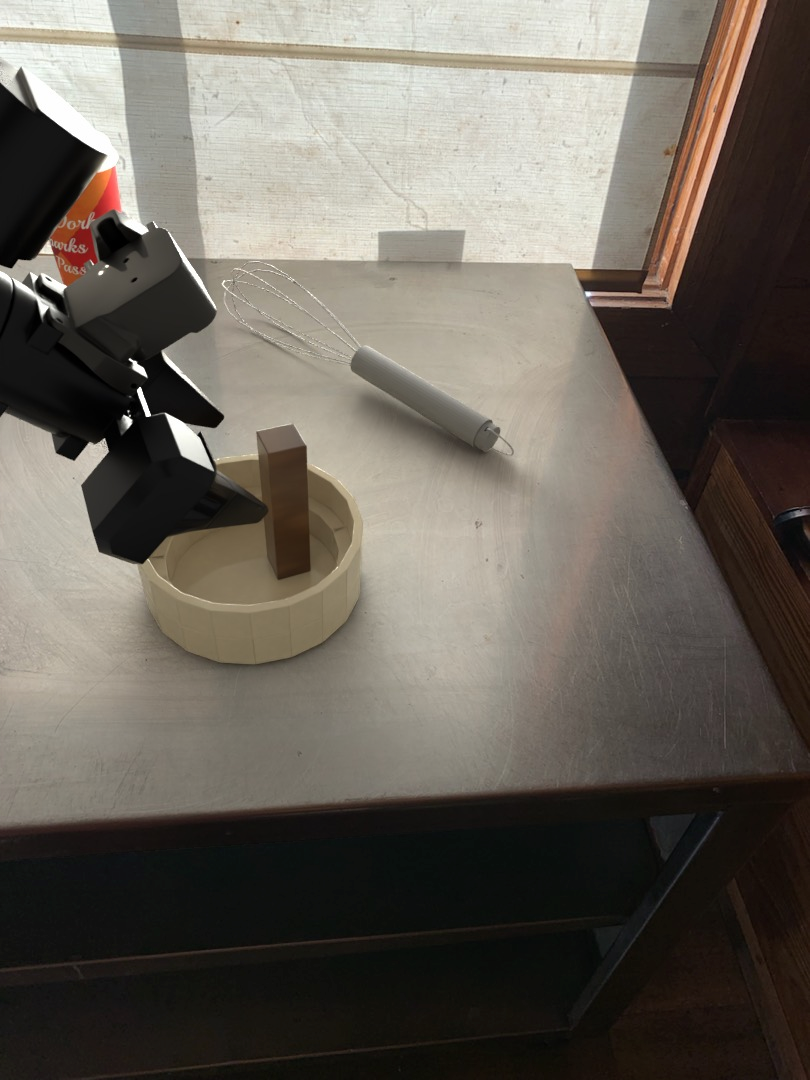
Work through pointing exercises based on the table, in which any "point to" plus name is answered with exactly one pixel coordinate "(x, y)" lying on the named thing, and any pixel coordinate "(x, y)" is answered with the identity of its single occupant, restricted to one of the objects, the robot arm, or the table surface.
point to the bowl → (257, 578)
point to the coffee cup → (85, 220)
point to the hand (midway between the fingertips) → (240, 465)
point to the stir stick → (285, 499)
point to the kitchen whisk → (393, 379)
